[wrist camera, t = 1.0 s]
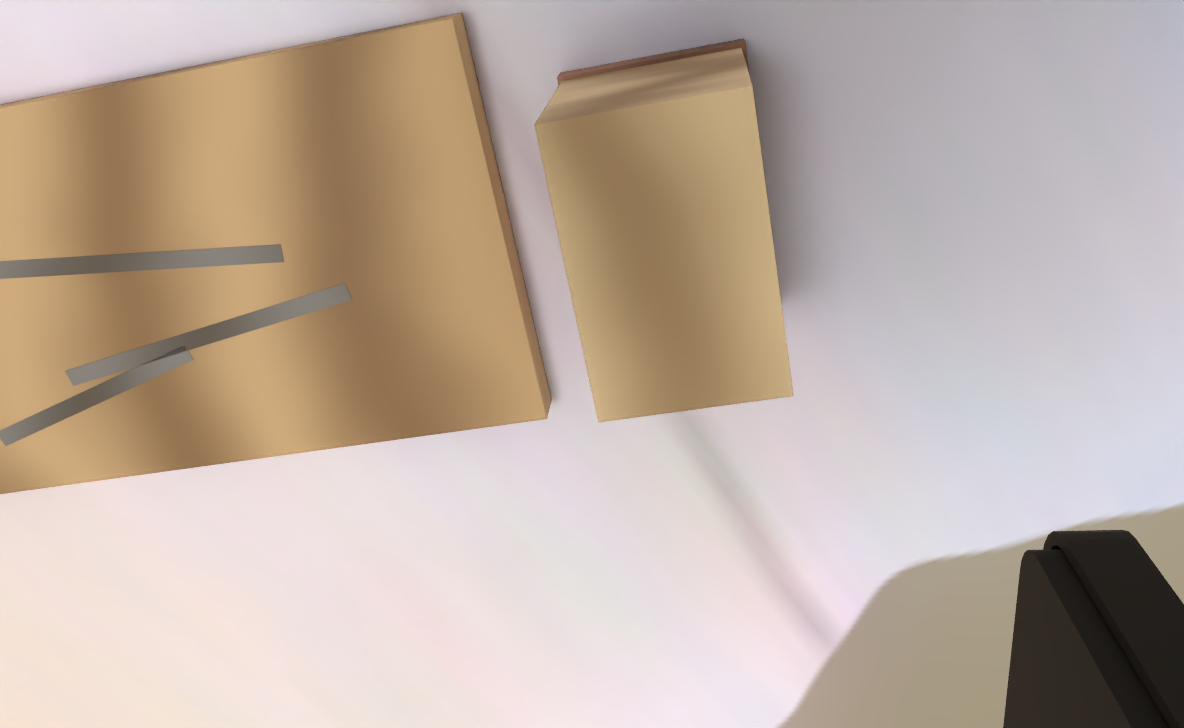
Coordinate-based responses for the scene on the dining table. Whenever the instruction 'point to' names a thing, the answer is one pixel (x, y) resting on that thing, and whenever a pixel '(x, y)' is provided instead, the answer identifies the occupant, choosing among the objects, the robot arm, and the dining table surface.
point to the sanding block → (667, 231)
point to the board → (258, 262)
